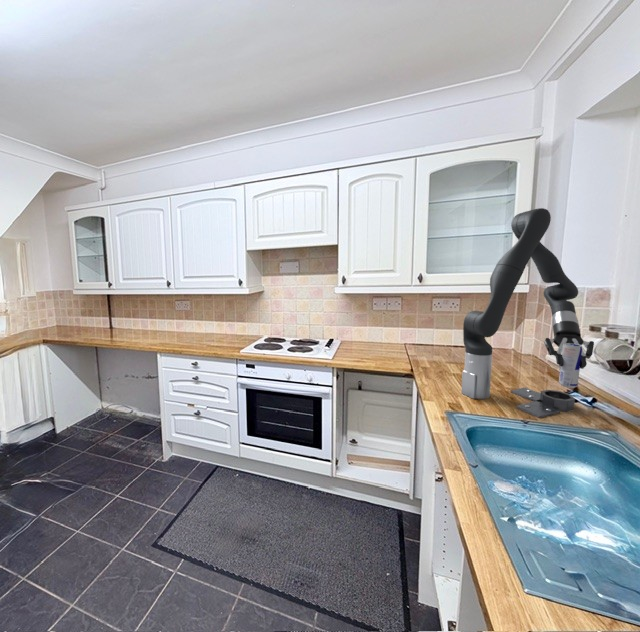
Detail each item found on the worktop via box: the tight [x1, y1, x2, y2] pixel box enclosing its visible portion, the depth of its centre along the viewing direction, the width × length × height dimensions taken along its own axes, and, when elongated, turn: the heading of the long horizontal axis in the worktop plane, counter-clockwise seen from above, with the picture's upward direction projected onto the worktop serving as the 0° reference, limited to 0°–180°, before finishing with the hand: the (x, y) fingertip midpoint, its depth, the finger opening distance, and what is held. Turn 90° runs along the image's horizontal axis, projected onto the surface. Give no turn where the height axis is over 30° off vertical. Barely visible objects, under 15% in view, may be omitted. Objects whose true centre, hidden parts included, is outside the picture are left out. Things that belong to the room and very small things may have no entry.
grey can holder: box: [510, 387, 576, 419], centre depth 108 cm, size 19×19×4 cm
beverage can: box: [558, 343, 583, 389], centre depth 101 cm, size 5×5×15 cm
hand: (571, 366), depth 100 cm, fingers closed on beverage can, 5 cm apart
